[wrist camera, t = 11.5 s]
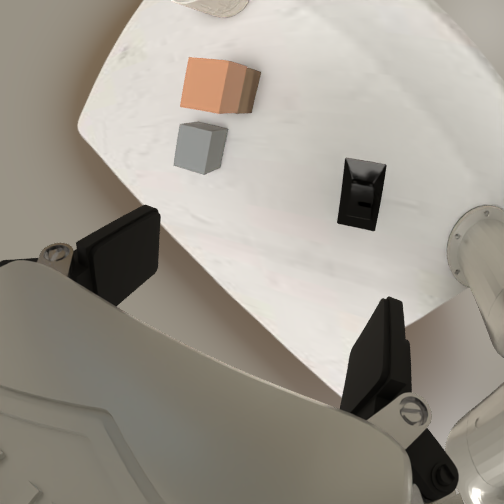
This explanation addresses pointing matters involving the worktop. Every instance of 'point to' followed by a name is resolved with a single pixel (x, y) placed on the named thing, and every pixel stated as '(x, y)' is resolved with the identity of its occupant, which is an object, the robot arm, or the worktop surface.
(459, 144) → the worktop surface
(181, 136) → the slate grey block
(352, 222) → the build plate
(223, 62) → the terracotta block
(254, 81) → the walnut block
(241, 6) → the white cup
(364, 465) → the robot arm
